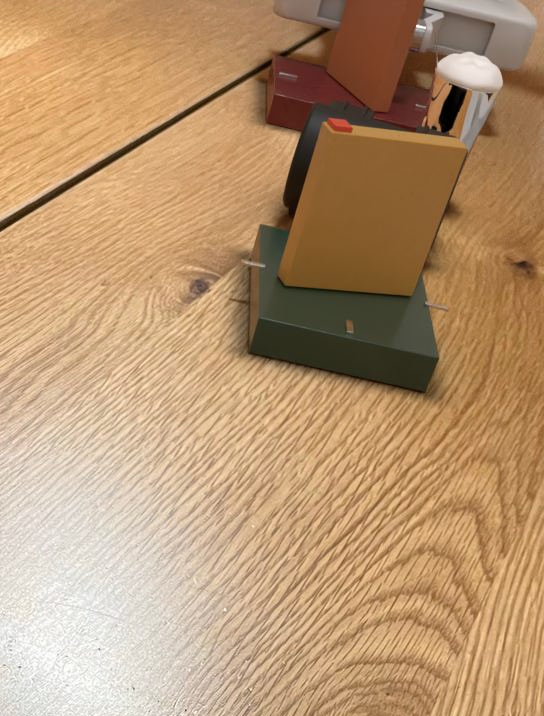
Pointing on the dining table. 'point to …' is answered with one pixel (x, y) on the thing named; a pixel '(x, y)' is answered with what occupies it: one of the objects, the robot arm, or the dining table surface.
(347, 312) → the green pinned base
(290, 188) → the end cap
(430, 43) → the robot arm
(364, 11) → the upright brown plank
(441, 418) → the dining table surface
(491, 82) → the milkshake
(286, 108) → the dark red base box
